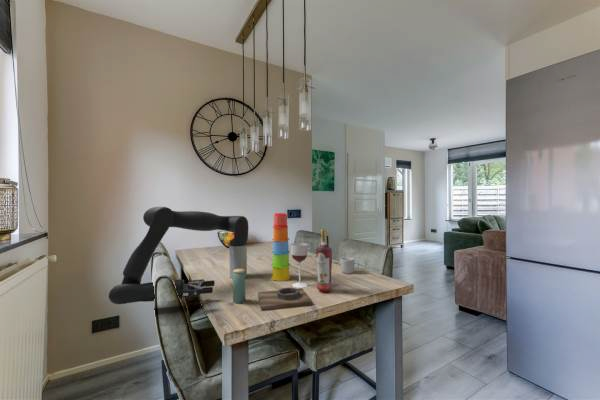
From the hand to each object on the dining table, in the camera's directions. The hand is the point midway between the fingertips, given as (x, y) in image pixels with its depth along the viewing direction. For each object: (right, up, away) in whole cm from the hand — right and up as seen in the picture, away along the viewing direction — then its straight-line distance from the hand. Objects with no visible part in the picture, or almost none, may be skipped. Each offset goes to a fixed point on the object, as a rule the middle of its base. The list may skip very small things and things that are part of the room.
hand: (213, 286), depth 109 cm
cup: (+63, -6, +42) cm, 76 cm away
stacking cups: (+25, -7, +34) cm, 43 cm away
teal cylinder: (+10, -7, +2) cm, 12 cm away
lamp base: (+28, -7, +3) cm, 29 cm away
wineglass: (+35, -7, +22) cm, 42 cm away
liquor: (+46, -7, +13) cm, 49 cm away
